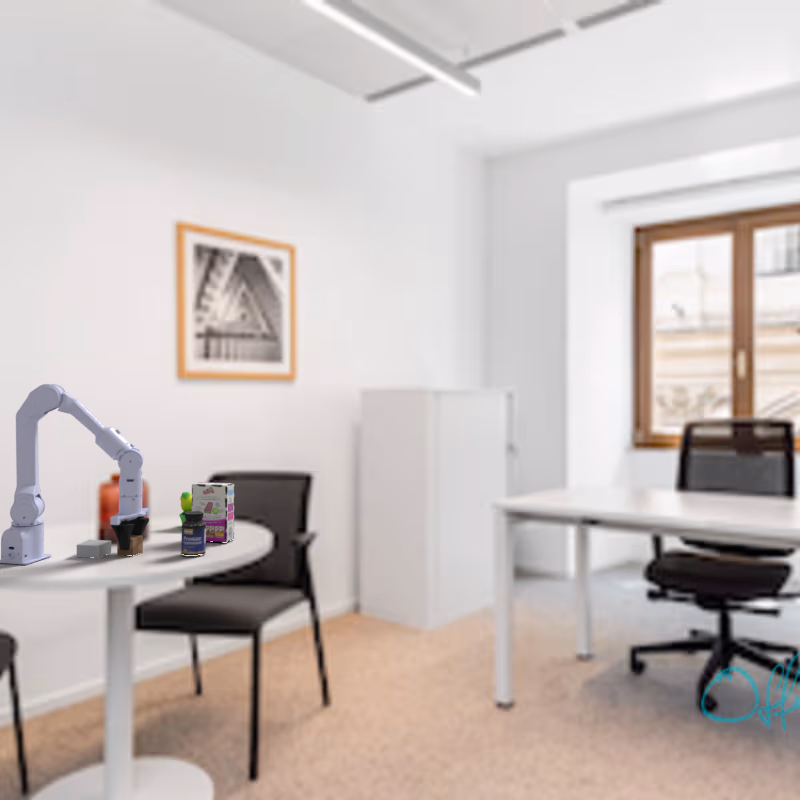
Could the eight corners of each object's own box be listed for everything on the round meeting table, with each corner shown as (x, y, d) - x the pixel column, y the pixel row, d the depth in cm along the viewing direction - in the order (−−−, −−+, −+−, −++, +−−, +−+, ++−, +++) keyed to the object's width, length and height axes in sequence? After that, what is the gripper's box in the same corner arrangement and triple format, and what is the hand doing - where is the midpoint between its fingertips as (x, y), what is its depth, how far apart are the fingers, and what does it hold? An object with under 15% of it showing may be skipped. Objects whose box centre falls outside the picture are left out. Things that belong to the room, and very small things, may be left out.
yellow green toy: (203, 531, 213) (203, 494, 213) (174, 531, 213) (174, 494, 213) (213, 524, 225) (214, 489, 225) (185, 524, 225) (186, 488, 225)
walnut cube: (133, 556, 180) (133, 539, 180) (117, 555, 181) (117, 538, 181) (142, 552, 185) (143, 535, 185) (127, 551, 186) (127, 534, 186)
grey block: (99, 559, 178) (99, 545, 178) (76, 558, 178) (76, 544, 178) (111, 554, 184) (111, 540, 184) (89, 553, 184) (89, 539, 184)
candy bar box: (234, 540, 202) (235, 483, 201) (226, 543, 197) (227, 485, 197) (199, 537, 204) (200, 481, 204) (190, 541, 199) (191, 483, 199)
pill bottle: (180, 558, 180) (181, 514, 179) (181, 552, 185) (181, 510, 185) (205, 556, 181) (206, 514, 181) (205, 551, 187) (206, 510, 187)
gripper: (128, 500, 175) (128, 555, 175) (159, 492, 189) (159, 542, 189) (103, 499, 176) (102, 553, 176) (135, 491, 191) (135, 541, 191)
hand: (130, 547), depth 183 cm, fingers closed on walnut cube, 4 cm apart
